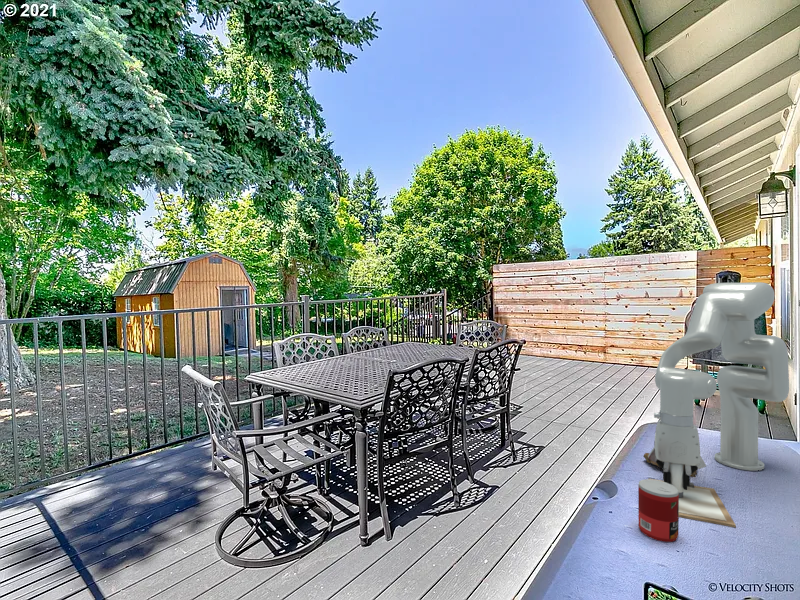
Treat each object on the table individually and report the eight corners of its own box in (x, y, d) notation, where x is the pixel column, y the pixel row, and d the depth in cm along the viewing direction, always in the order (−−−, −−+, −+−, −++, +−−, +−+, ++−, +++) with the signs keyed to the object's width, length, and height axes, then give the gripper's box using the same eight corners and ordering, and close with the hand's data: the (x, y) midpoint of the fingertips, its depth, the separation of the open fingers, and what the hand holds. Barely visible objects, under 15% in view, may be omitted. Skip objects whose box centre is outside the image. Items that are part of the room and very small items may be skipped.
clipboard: (648, 480, 123) (648, 475, 123) (714, 490, 117) (714, 485, 116) (657, 512, 105) (657, 507, 105) (735, 527, 98) (735, 521, 98)
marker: (667, 491, 115) (667, 448, 115) (682, 493, 113) (682, 450, 113) (670, 496, 112) (670, 452, 111) (685, 499, 110) (685, 454, 110)
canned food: (679, 547, 91) (679, 497, 91) (637, 535, 96) (637, 488, 95) (677, 529, 98) (677, 483, 98) (638, 520, 102) (638, 476, 102)
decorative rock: (637, 468, 133) (693, 485, 123) (637, 456, 133) (694, 471, 122) (647, 456, 141) (700, 470, 131) (647, 444, 141) (701, 458, 130)
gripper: (643, 419, 112) (642, 486, 113) (717, 427, 105) (716, 498, 106) (640, 412, 119) (640, 475, 119) (709, 419, 112) (709, 486, 112)
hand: (676, 485), depth 113 cm, fingers closed on marker, 3 cm apart
